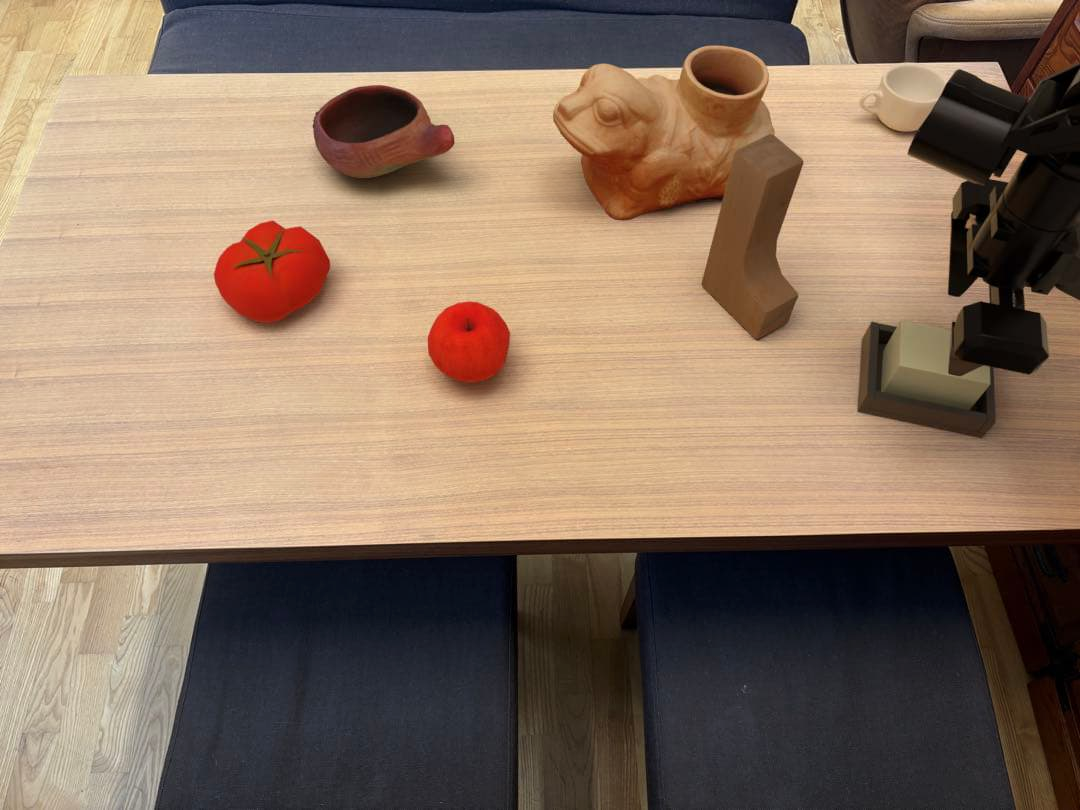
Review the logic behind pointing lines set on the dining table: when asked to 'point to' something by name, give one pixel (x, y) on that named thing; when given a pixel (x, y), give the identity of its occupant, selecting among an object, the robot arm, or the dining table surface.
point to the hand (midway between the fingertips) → (953, 333)
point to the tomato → (271, 271)
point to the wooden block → (754, 237)
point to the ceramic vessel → (665, 129)
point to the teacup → (906, 95)
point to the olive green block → (928, 368)
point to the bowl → (377, 131)
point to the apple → (469, 342)
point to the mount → (913, 409)
